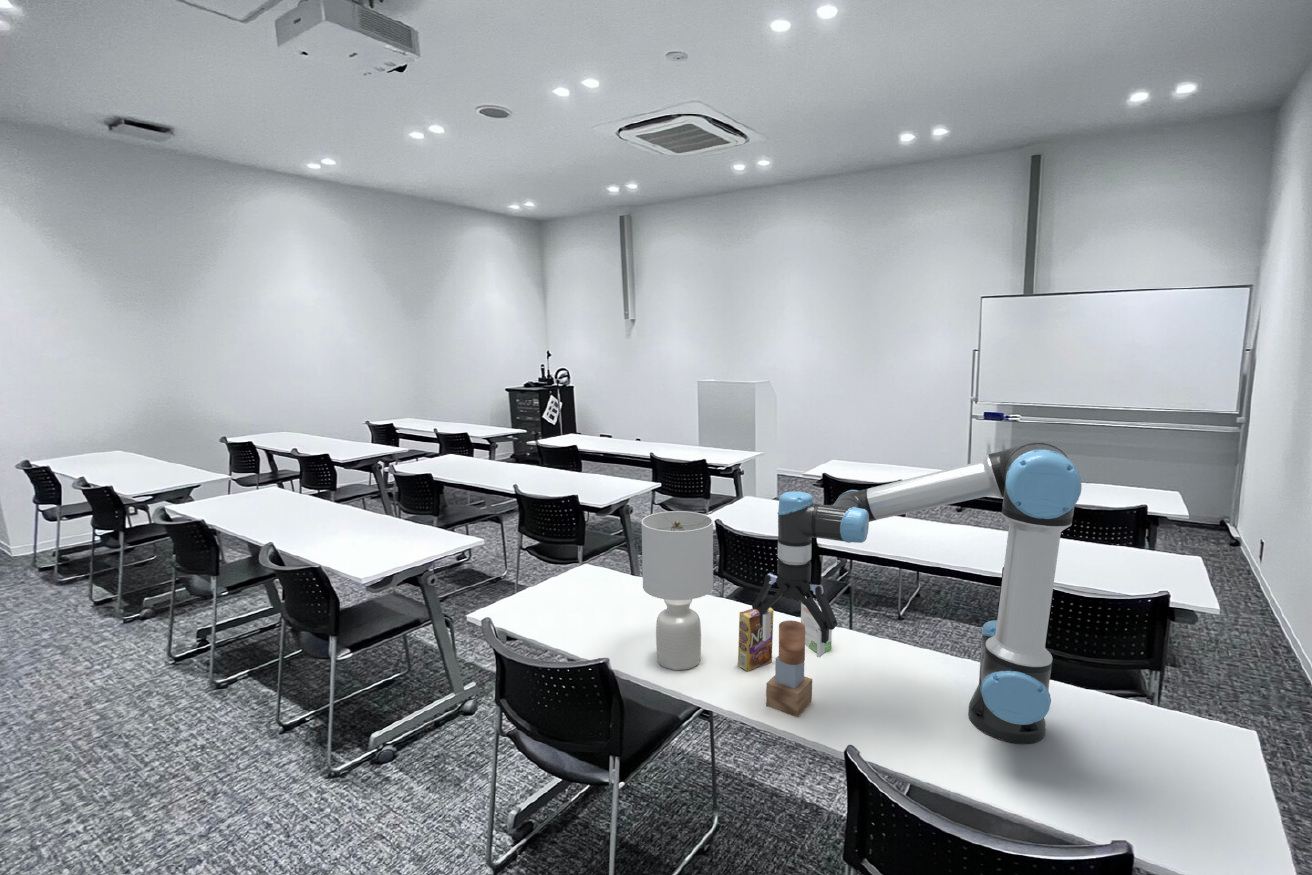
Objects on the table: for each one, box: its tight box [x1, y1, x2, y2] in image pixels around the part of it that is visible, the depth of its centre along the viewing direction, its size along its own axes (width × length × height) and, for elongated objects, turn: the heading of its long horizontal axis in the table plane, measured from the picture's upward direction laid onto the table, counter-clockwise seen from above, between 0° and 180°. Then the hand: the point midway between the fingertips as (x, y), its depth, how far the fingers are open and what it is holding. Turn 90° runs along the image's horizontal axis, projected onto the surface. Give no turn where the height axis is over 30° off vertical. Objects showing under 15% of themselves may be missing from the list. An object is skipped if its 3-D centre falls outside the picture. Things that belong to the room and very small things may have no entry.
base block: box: [765, 675, 813, 718], centre depth 150 cm, size 8×8×6 cm
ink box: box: [800, 596, 833, 654], centre depth 177 cm, size 9×5×15 cm, turn 22°
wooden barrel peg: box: [778, 619, 806, 665], centre depth 148 cm, size 6×6×8 cm
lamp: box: [641, 510, 714, 671], centre depth 169 cm, size 19×19×39 cm
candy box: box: [737, 607, 774, 672], centre depth 168 cm, size 9×4×15 cm, turn 123°
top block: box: [774, 655, 805, 689], centre depth 149 cm, size 5×5×6 cm
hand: (792, 646), depth 148 cm, fingers open, 13 cm apart
